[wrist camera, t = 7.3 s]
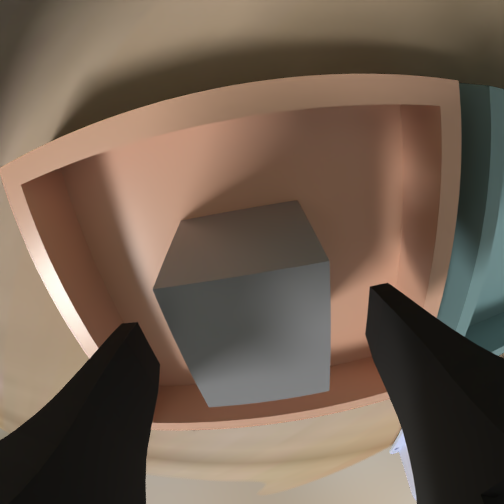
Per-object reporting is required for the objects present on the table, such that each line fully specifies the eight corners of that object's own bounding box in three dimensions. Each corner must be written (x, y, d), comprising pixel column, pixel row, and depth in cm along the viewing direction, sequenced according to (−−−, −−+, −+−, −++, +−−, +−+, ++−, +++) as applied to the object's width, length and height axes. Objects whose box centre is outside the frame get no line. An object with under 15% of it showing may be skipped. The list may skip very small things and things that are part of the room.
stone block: (308, 313, 12) (329, 390, 9) (214, 328, 13) (208, 407, 9) (297, 200, 10) (329, 261, 6) (181, 220, 10) (152, 289, 7)
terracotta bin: (392, 351, 15) (411, 392, 12) (154, 386, 15) (146, 429, 13) (408, 79, 8) (458, 80, 6) (47, 147, 9) (-2, 168, 6)
